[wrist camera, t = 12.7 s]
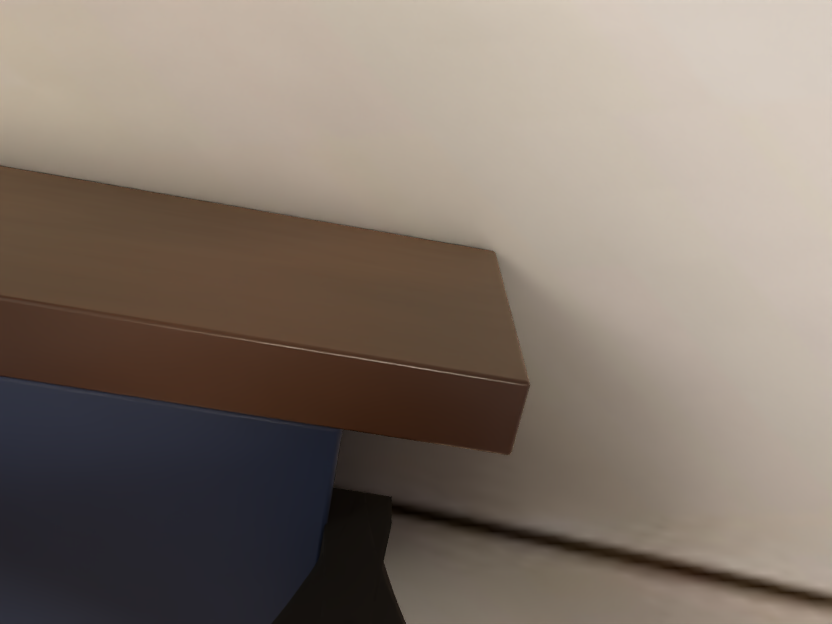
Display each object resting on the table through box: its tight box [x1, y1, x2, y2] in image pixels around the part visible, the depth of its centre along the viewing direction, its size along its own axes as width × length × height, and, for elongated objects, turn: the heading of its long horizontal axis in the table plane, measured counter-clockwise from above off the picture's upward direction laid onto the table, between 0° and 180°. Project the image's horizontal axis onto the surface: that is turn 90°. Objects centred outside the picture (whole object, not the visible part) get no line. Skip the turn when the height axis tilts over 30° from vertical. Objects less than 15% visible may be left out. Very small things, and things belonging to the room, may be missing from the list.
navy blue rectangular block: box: [0, 376, 343, 624], centre depth 13 cm, size 10×6×3 cm, turn 80°
